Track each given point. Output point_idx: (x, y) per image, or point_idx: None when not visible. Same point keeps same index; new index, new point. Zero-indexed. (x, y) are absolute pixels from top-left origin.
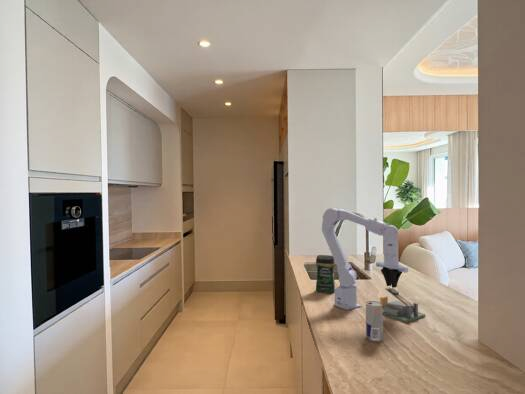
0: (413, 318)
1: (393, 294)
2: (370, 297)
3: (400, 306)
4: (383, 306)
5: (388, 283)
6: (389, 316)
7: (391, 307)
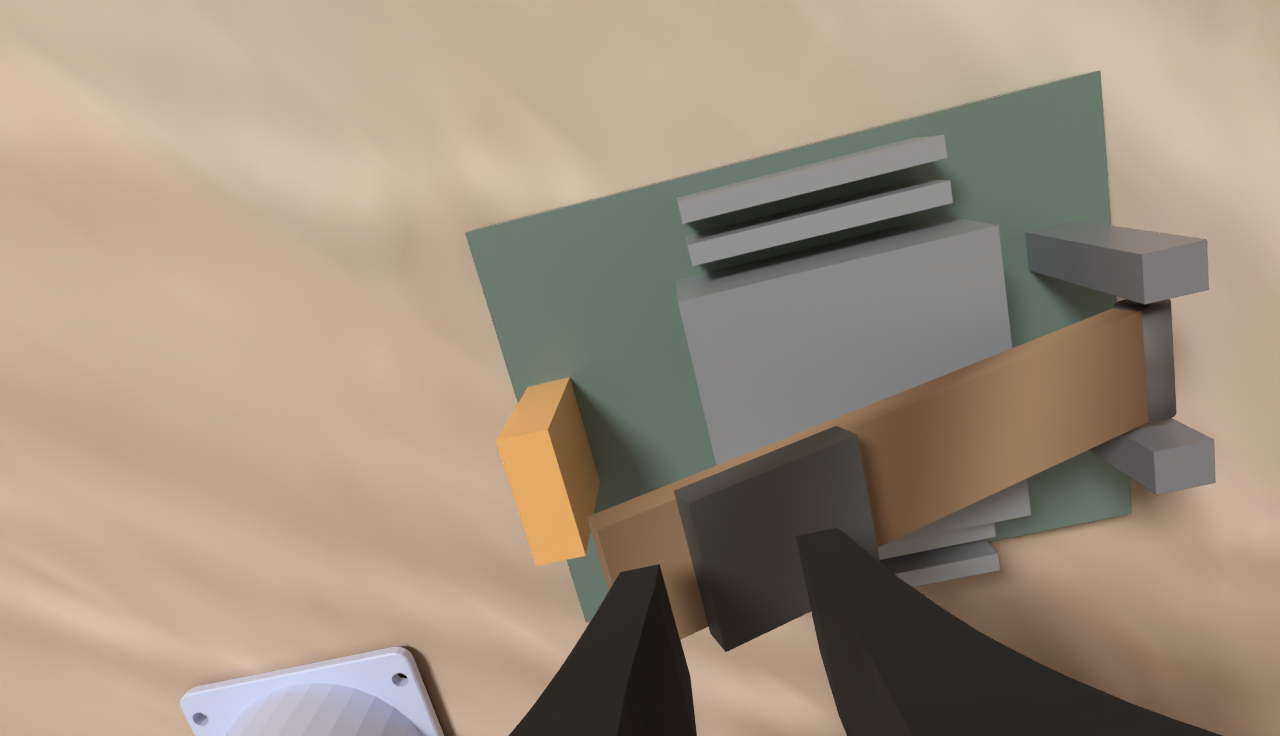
0: None
1: None
2: (36, 294)
3: None
4: (594, 470)
5: (689, 715)
6: None
7: None
